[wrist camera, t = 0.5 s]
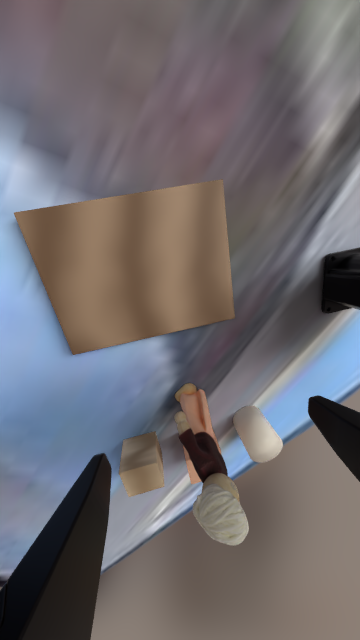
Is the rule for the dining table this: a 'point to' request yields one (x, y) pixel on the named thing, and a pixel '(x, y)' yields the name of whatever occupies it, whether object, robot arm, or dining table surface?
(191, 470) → the terracotta block
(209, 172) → the dining table surface
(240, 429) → the off-white cylinder
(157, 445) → the beech block
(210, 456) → the grandmother figurine
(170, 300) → the walnut board
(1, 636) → the robot arm
